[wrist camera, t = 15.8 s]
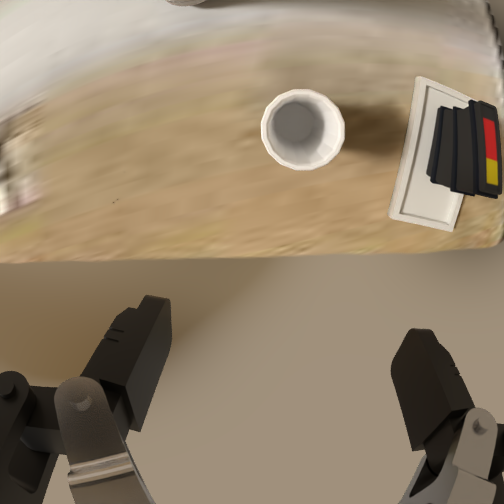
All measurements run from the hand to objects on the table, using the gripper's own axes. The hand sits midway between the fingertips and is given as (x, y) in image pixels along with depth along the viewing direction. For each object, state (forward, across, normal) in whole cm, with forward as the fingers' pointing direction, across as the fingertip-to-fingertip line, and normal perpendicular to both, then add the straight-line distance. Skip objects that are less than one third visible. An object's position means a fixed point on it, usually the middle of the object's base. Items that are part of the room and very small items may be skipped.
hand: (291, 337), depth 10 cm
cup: (+36, -1, -5) cm, 37 cm away
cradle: (+36, -24, -5) cm, 44 cm away
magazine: (+36, -24, -4) cm, 44 cm away
